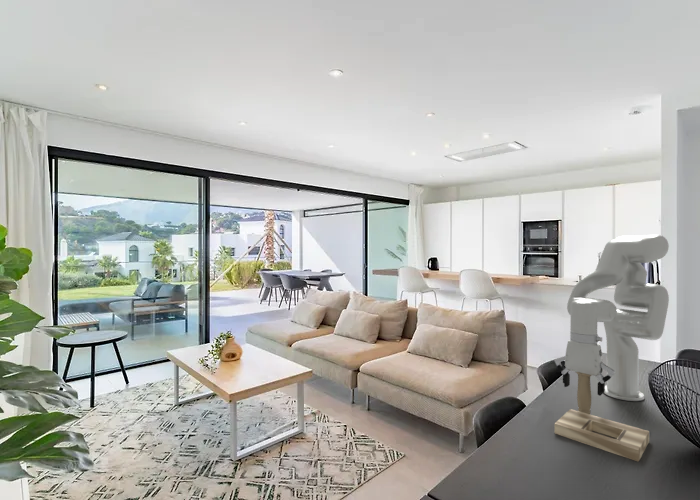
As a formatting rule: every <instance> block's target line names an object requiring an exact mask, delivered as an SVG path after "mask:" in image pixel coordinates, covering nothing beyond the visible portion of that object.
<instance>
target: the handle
mask: <svg viewBox="0 0 700 500" xmlns="http://www.w3.org/2000/svg"><path fill="white" fill-rule="evenodd" d="M575 373H576V374H577V391H576V392H577V394H576V395H577V397H576V399H577V401H576V402H577V407H578V408H577V409H578V410H577V411H580V412H583V413H587V414H590V415H591V409H592V408H591V407H592V388H591V377H592V375H588V374H585V373H580V372H575Z"/></svg>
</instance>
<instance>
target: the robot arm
mask: <svg viewBox="0 0 700 500" xmlns="http://www.w3.org/2000/svg"><path fill="white" fill-rule="evenodd" d="M669 247H670V245H669V241H668V239H667V238H666V237H665V236H663V235H660V234H647V235H646V234H643V235H635V234H634V235H621V236H617V237H615V238H614V239H611V240H609V241H608V242H607V243H606V244H605V245H604V247H603V250H602V253H601V255H600V258H599V260H598V263H597V265H596V268H595V270H594V272H592V273H590V274H588V275H587V276H586V277H583V279H581V280H580V281H579V282H578V283H576V285H574V287H573V289H572V291H571V293H570V295H569V297H568V301H567V304H566V309H567V313H568V315H570V326H569V327H570V331H569V332H570V333H569V334H570V335H569V338H570V339H568V341H567V344H566V349H565V355H564V356H561V357H557V358H555V359H554V361H553V362H554V364H555V365H556V367H557V369H558V370H559V371H560V372H561V374H562V383H563V385H564V386H563V387H564V388H567V387H569V386H570V380H571V379H570V378H571V374H570V373H569V372H570V371H571V372H574V373H576V372H580V373H585V374H588V375H592V376H593V377H595V378H596V379H597V380H598V382H597V395H598V396H600V397H601V396H602V395H603V394H605V395H607V396H608V397H610V398H614V399H617V400H622V401H627V402H640V401H643V400H645V394H644V393H643V392H641V391H640V390H639V389H640V386H639V384H640V383H639V382H640V381H639V374H640V373H639V371H640V369H639V368H640V367H639V362H640V361H639V359H640V358H639V355H640V354H639V347H638V345H637V343H636V342H635V340H634V339H633V338H635V339H641V340H649V341H658V340H660V339H661V338H662V335H663V334H664V330H665V325H666V324H665V323H666V318H667V315H668V314H667V313H668V308H669V303H670V302H669V301H670V295H669V292H668V290H667V288H666V287H664V286H663V285H661V284H657V283H646V281H647V276H648V271H647V269H646V268H645V267H644V265H643V264H649V263H653V262H655V261H658V260H662V258H664V257H665V256H666V255H667V254H668V252H669ZM612 286H615V288H614V295H613V301H614V303H613V302H612V301H610V300H607V299H601V298H594V297H587V296H588V295H590V294H591V293H593V292H595V291H597V290H601V289H605V288H608V287H612ZM615 304H616V305H618V306H620V307H624V308H629V309H624V308H617V306H616V305H615ZM634 309H638V310H634ZM639 310H644V311H639ZM646 310H647V311H646ZM598 323H603V327H604V331H605V339H606V364H605V363H604V361H603V352H602V347H601V344H600V343H599V342H603V337H601V336H599V334H598ZM561 362H564V366H565V367H564V366H563V364H562V363H561ZM604 371H606V375H605V376H604V375H603V372H604ZM592 376H591V377H592Z"/></svg>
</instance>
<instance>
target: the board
mask: <svg viewBox="0 0 700 500" xmlns="http://www.w3.org/2000/svg"><path fill="white" fill-rule="evenodd" d="M554 434H555V435H558V436H560V437H564V438H567V439H569V440H572V441H576V442H579V443H582V444H585V445H588V446H591V447H593V448H597V449H599V450H602V451H605V452H609V453H611V454H614V455H617V456H620V457H624V458H625V459H629V460H632V461H635V462H640V460H641V458H642V457H643V454H644V453H645V451H646V449H647V446H648V445H649V443H650V431H649V430H647V429H646V430H645V429H644V428H643V429H642V428H639V427H636V426H633V425H629V424H625V423H621V422H618V421H614V420H610V419H608V418H604V417H600V416H596V415H594V414H591V413H590V414H587V413H583V412H580V411H578V410H575V409H572V408H570V409H569V410H568V411H566V412H565V413H564V414H563V415H562V416H561V417H560V418H559V419H558V420H556V421H555V422H554Z"/></svg>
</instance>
